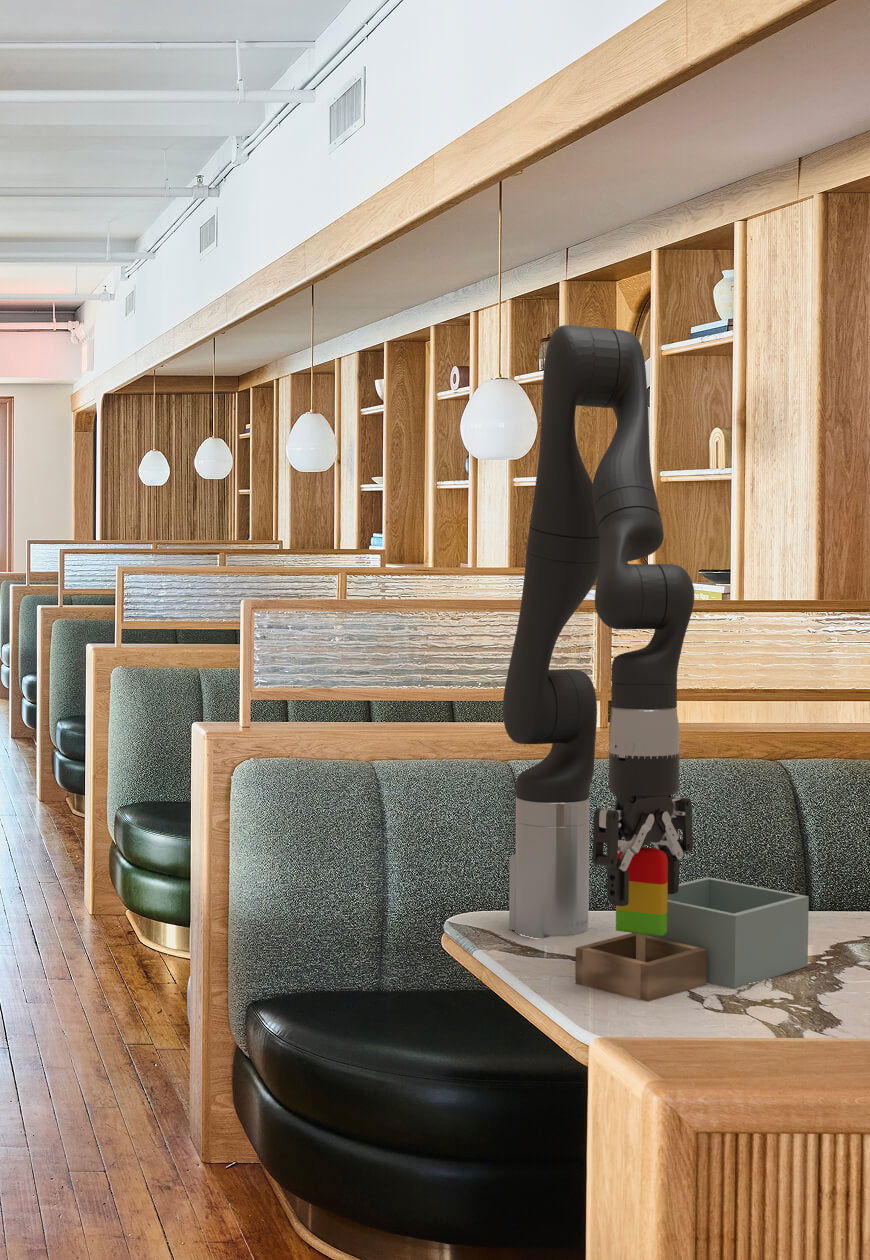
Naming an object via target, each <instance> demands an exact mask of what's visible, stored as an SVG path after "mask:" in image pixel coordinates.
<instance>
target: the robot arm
mask: <svg viewBox="0 0 870 1260" xmlns="http://www.w3.org/2000/svg"><path fill="white" fill-rule="evenodd" d="M644 355H645V354H644V351H643V348H642V344H641V342H640V340H639V338H638V337H637V336H636V335H635V334H634V333H633V332H630V331H628V330H623V329H618V328H617V329H616V328H607V327H606V328H605V327H596V326H584V325H574V324H573V325H572V324H571V325H569V324H564V325H559V326H558V327H557V328H556V329H555V330H554V331H552V334H551V336H550V338H549V340H548V343H547V348H546V353H545V358H544V365H543V374H542V375H543V376H542V393H541V394H542V395H541V414H540V415H541V417H540V435H539V437H540V439H539V451H538V453H539V454H538V461H537V469H536V470H537V471H536V478H535V486H534V491H533V492H534V493H533V494H534V495H533V500H532V501H533V502H532V507H531V514H530V519H529V528H528V537H527V544H526V553H525V565H524V567H525V568H524V577H523V585H522V586H523V587H522V592H521V593H522V594H521V602H520V610H519V617H518V622H517V627H516V631H515V637H514V642H513V646H512V650H511V654H510V655H511V656H510V660H509V666H508V671H507V674H506V679H505V687H504V691H503V700H502V717H503V724H504V728H505V731H506V733H507V735H508V737H509V739H511V741H512V742H514V743H515V744H519V745H546V744H547V745H549V744H550V745H551V748H550V751H549V753H548V754H547V755H546V757H545V758H544V759H542V760H541V761H540V762H538V763H537V764H536V765H533V766H531V767H530V768H527V769H526V770H524V771H522V772H520V773H519V774H518V776H517V777H516V781H515V854H511V856H510V857H509V886H508V888H509V892H508V893H509V897H508V898H509V899H508V901H509V903H508V905H509V906H508V907H509V909H508V912H509V913H508V914H509V915H508V917H509V919H508V920H509V922H508V929H509V928H510V929H514V930H515V931H516V932H517V933H519V934H522V935H525V936H529V937H533V938H541V939H545V938H549V937H569V936H575V935H580V934H584V933H585V932H587V931H588V930H589V910H590V909H589V903H590V792H591V791H590V790H591V789H590V788H591V784H592V781H593V777H594V773H595V770H594V769H595V754H596V738H597V722H598V701H597V693H596V689H595V686H594V684H593V681H592V680H591V678H590V676H589V675H588V674H587V673H586V672H585V671H583V670H580V669H576V668H575V669H573V668H572V669H571V668H570V669H567V668H565V669H563V668H561V669H550V665H551V659H552V655H553V654H554V648H555V646H556V643H557V641H558V638H559V636H560V634H561V632H562V631H563V629H564V627H565V626H566V624H567V623H568V621H569V620H570V618H572V616H573V614H574V613H575V612H576V610H577V609H578V608H579V607H580V605H581V604H582V602H583V601H584V600H585V598H586V597H587V595H588V594H589V593H590V591H591V589H592V587H594V584H595V583H596V584H595V592H594V608H595V611H596V614H597V615H598V618H599V619H600V620H601V622H603V624H604V625H606V627H609V628H610V629H613V630H624V631H625V630H627V631H628V630H654V632H653V635H652V637H651V639H650V641H649V642H648V644H647V645H646V646H645V647H642V648H640V649H636V650H632V651H627V652H622V653H620V654H618V655H616V656H615V657H614V659H613V660H612V664H611V671H610V672H611V674H610V675H611V677H610V679H611V691H610V692H611V696H610V697H611V700H610V701H611V703H610V704H611V710H610V711H611V712H610V718H609V726H608V790H610V792H611V793H612V794H613V795H614V796H615V798H616V799H615V804H614V807H613V809H610V808H609V809H608V808H602V807H601V808H600V807H598V808H596V809H595V810H594V813H593V831H592V832H593V833H592V834H593V835H592V854H591V856H592V858H591V861H592V864H593V865H595V866H596V865H597V866H601V867H603V868H605V870H606V873H607V874H606V875H607V877H606V879H607V881H606V883H607V884H606V885H607V886H606V895H607V896H606V897H607V900H608V903H610V905H612V906H616V905H617V906H626V905H628V903H629V871H626V870H627V868H628V866H629V864H630V861H631V859H632V857H633V855H634V854H637V853H638V852H639V850H640V848H641V847H643V846H646V845H648V844H652V845H653V846H654V848H656V849H660V850H662V851H663V852H664V853H665V854H666V856H667V859H668V894H675V893H677V892H678V886H679V884H680V860H681V859H682V858H683V856H684V854H685V853H686V852H691V851H692V850H693V848H694V838H693V837H694V836H693V834H694V833H693V813H692V812H693V811H692V809H693V808H692V800H691V798H690V797H682V796H681V797H680V796H675V795H677V794H678V792H679V791H680V723H679V717H678V668H679V662H680V658H681V652H682V649H683V644H684V639H685V637H686V633H687V630H688V626H689V624H690V620H691V616H692V613H693V608H694V604H695V589H694V588H695V587H694V584H693V581H692V578H691V576H690V574H689V573H688V572H687V570H686V569H684V568H683V567H682V566H680V565H678V564H673V563H655V564H654V563H629V562H632V561H636V560H639V559H644V558H646V557H648V556H650V555H652V554H654V553H655V552H657V551H658V549H660V548H661V546H662V545H663V542H664V526H663V522H662V518H661V513H660V512H661V511H660V508H659V504H658V503H659V502H658V499H657V494H656V490H655V484H654V480H653V474H652V473H653V471H652V466H651V465H652V464H651V451H650V448H651V447H650V422H649V420H650V418H649V401H648V384H647V369H646V368H647V367H646V362H645V356H644ZM577 406H579V407H590V408H591V407H592V408H601V409H602V408H603V409H604V408H605V409H612V410H613V412H614V416H615V419H616V421H615V422H616V426H615V433H614V434H613V437H612V439H611V441H610V443H609V445H608V447H607V449H606V450H605V452H604V454H603V456H602V457H601V460H600V461H599V464H598V466H597V468H596V469H595V470H596V471H595V474H594V477H593V480H592V479H591V476H590V475H589V473H588V470H587V469H586V466H585V464H584V462H583V459H582V457H581V453H580V449H579V447H578V442H577V435H576V408H577ZM679 830H681V832H682V839H681V838H680V835H679ZM623 838H624V840H622V839H623ZM604 844H606V854H604ZM619 852H623V853H622V855H621V857H620V859H619V858H617V856H618V854H619ZM515 931H514V932H515ZM541 939H540V940H541Z"/></svg>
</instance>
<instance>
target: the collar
mask: <svg viewBox="0 0 870 1260" xmlns="http://www.w3.org/2000/svg"><path fill="white" fill-rule="evenodd" d="M706 966H707V949H703V948H699V947H695V946H691V945H686V944H682V943H678V942H674V941H669V940H665V939H661V938H657V937H652V936H648V935H646V951H645V962H643V961H639V960H636V933H630V932H629V933H627V934H623V935H620V936H619V935H618V936H615V937H612V938H607V939H603V940H600V941H596V942H591V943H588V944H585V945H580V946H577V947H575V967H574V969H575V977H574V979H575V981H574V982H575V985H579V986H582V987H583V986H584V987H587V988H591V989H594V990H595V989H596V990H599V991H603V992H604V991H605V992H608V993H612V994H615V995H619V996H624V997H628V998H632V999H636V1000H641V1001H644V1002H648V1003H649V1002H651V1001H654V1000H658V999H659V1000H660V999H662V998H667V997H669V996H672V995H676V994H680V993H683V992H686V991H690V990H694V989H696V988H701V987H705V986H707V982H706Z"/></svg>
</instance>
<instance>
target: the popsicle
mask: <svg viewBox="0 0 870 1260" xmlns="http://www.w3.org/2000/svg"><path fill="white" fill-rule="evenodd" d="M622 853H623V852H619V854H618V856H617V858H619V859H620V857H621V855H622ZM626 871H629V903H628V905H626V906H617V905H615V931H616V932H617V931H618V932H623V933H629V934H630V933H636V960H639V961H643V962H645V951H646V935H653V936H663V935H665V934H666V933H667V895H668V859H667V856H666V854H665V853H664V852H663V851H662V850H660V849H656V847H646V846H641V848H640V850H639V852H638V853H637V854H634V855H633V857H632V859H631V861H630V864H629V866H628V868H627V870H626Z"/></svg>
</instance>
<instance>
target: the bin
mask: <svg viewBox="0 0 870 1260" xmlns="http://www.w3.org/2000/svg"><path fill="white" fill-rule="evenodd" d="M809 897H810V896H808V895H803V894H798V893H793V892H787V891H783V890H777V889H772V888H766V887H760V886H756V885H750V884H745V883H740V882H734V881H730V880H724V879H719V878H714V877H702V878H698V879H694V880H690V881H689V880H688V881H685V882H681V883H679V886H678V892H677V893H675V894H668V895H667V933H666V934H665V935H663V936H653V935H648V936H652V937H657V938H661V939H665V940H669V941H674V942H678V943H682V944H686V945H691V946H695V947H699V948H703V949H707V966H706V984H707V983H708V984H711V985H712V984H713V985H716V986H717V985H718V986H721V987H727V988H731V989H734V990H736V989H738V987H739V988H741V986H742V987H744V986H743V985H746V984H749V983H752V984H754V983H753V982H756V983H758V982H757V981H759V982H761V981H760V980H763V981H765V980H764V979H766V980H768V979H767V978H770V979H772V978H771V977H773V978H775V976H776V977H778V976H782V975H784V974H787V973H791V972H795V971H797V970H800V969H802V968H803V969H804V968H807V967H808V961H809V960H808V959H809V957H808V956H809V955H808V954H809V908H810V907H809V904H810V901H809V900H810V899H809ZM749 985H750V984H749ZM746 986H747V985H746Z"/></svg>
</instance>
